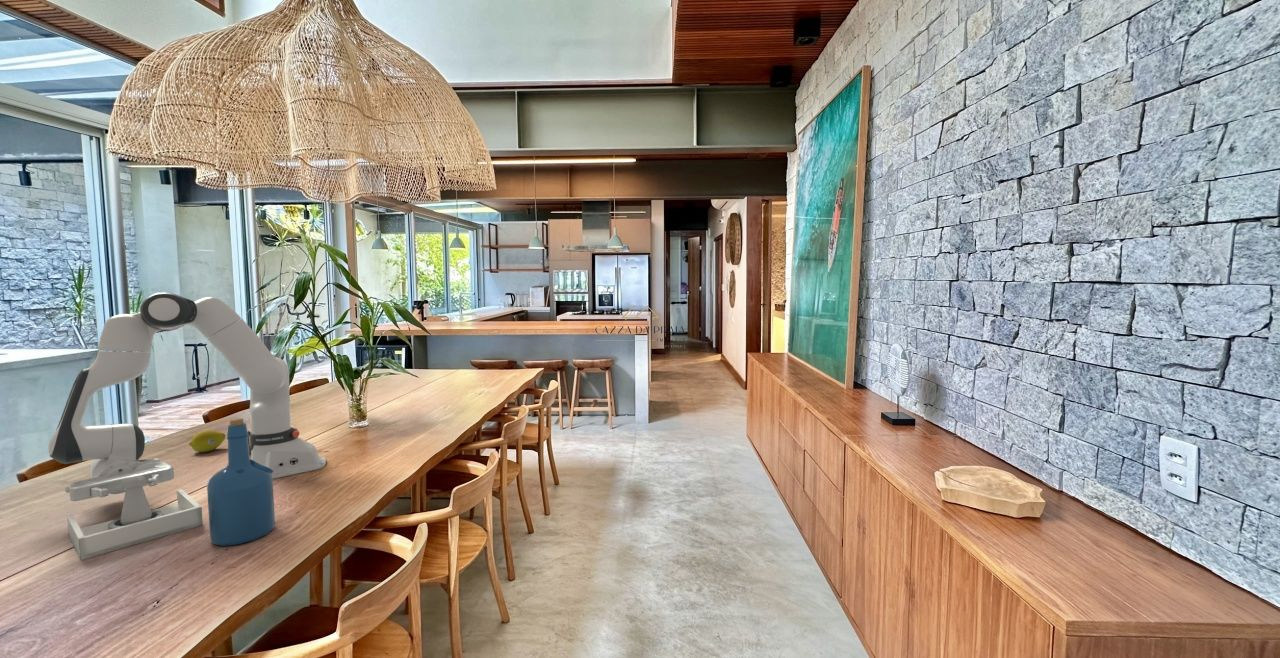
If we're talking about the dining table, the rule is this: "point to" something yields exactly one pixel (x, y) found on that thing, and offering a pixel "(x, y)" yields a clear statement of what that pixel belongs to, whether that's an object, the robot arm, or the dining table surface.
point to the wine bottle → (240, 494)
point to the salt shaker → (134, 501)
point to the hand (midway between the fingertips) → (129, 488)
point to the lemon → (207, 441)
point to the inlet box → (135, 528)
